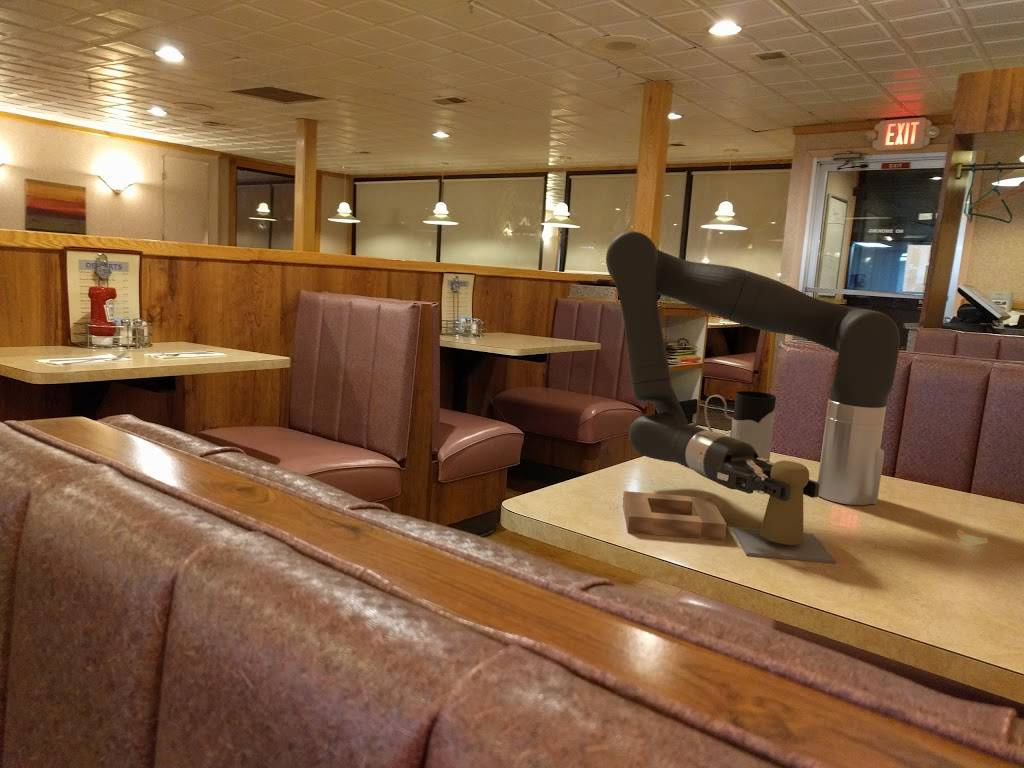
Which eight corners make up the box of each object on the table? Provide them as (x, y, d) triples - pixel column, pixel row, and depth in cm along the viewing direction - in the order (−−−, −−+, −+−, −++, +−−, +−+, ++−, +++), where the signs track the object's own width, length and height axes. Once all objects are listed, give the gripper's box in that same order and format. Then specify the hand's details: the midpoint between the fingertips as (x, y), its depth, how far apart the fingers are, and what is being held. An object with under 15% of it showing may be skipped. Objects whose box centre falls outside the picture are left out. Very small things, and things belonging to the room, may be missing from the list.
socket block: (710, 513, 121) (711, 498, 121) (724, 540, 109) (726, 524, 109) (622, 505, 122) (623, 491, 122) (627, 532, 110) (629, 516, 110)
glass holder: (763, 478, 144) (773, 400, 141) (691, 463, 151) (699, 389, 149) (775, 468, 151) (784, 395, 148) (706, 455, 158) (713, 384, 156)
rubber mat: (812, 536, 113) (813, 534, 113) (835, 563, 103) (835, 560, 103) (731, 529, 114) (732, 527, 114) (746, 555, 104) (746, 552, 104)
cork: (807, 547, 105) (817, 471, 103) (762, 541, 106) (771, 466, 104) (800, 531, 111) (810, 459, 109) (757, 526, 112) (766, 455, 110)
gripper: (686, 438, 116) (766, 470, 101) (757, 433, 122) (843, 463, 107) (681, 484, 118) (760, 523, 103) (752, 478, 124) (836, 513, 109)
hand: (802, 492), depth 105 cm, fingers closed on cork, 4 cm apart
